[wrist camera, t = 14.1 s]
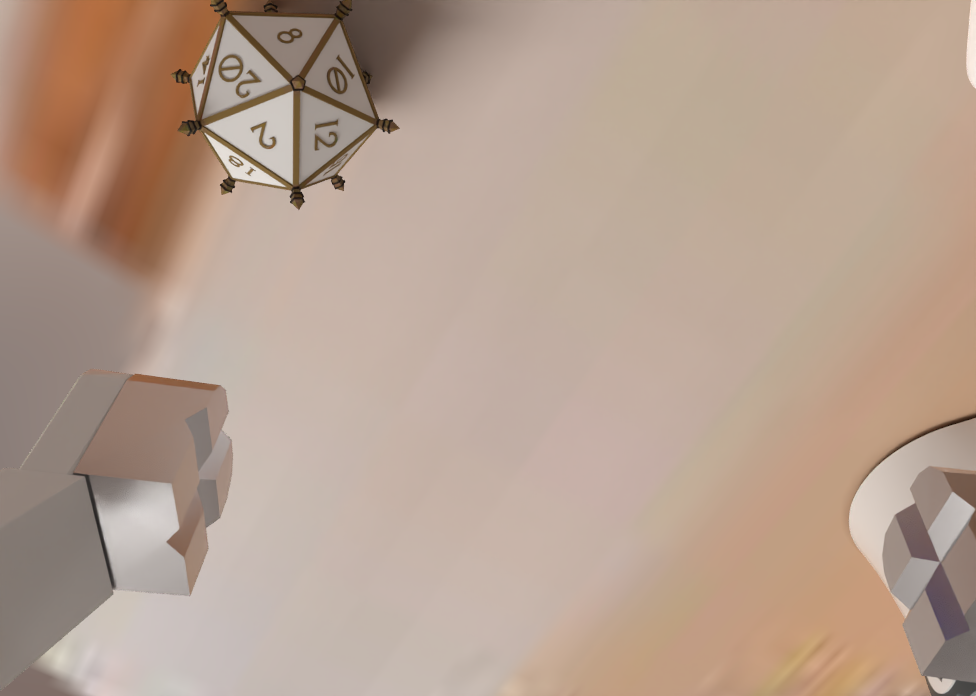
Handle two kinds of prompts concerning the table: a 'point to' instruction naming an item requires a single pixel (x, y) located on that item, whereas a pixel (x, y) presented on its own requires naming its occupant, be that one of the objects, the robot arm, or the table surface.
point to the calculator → (972, 45)
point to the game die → (281, 98)
